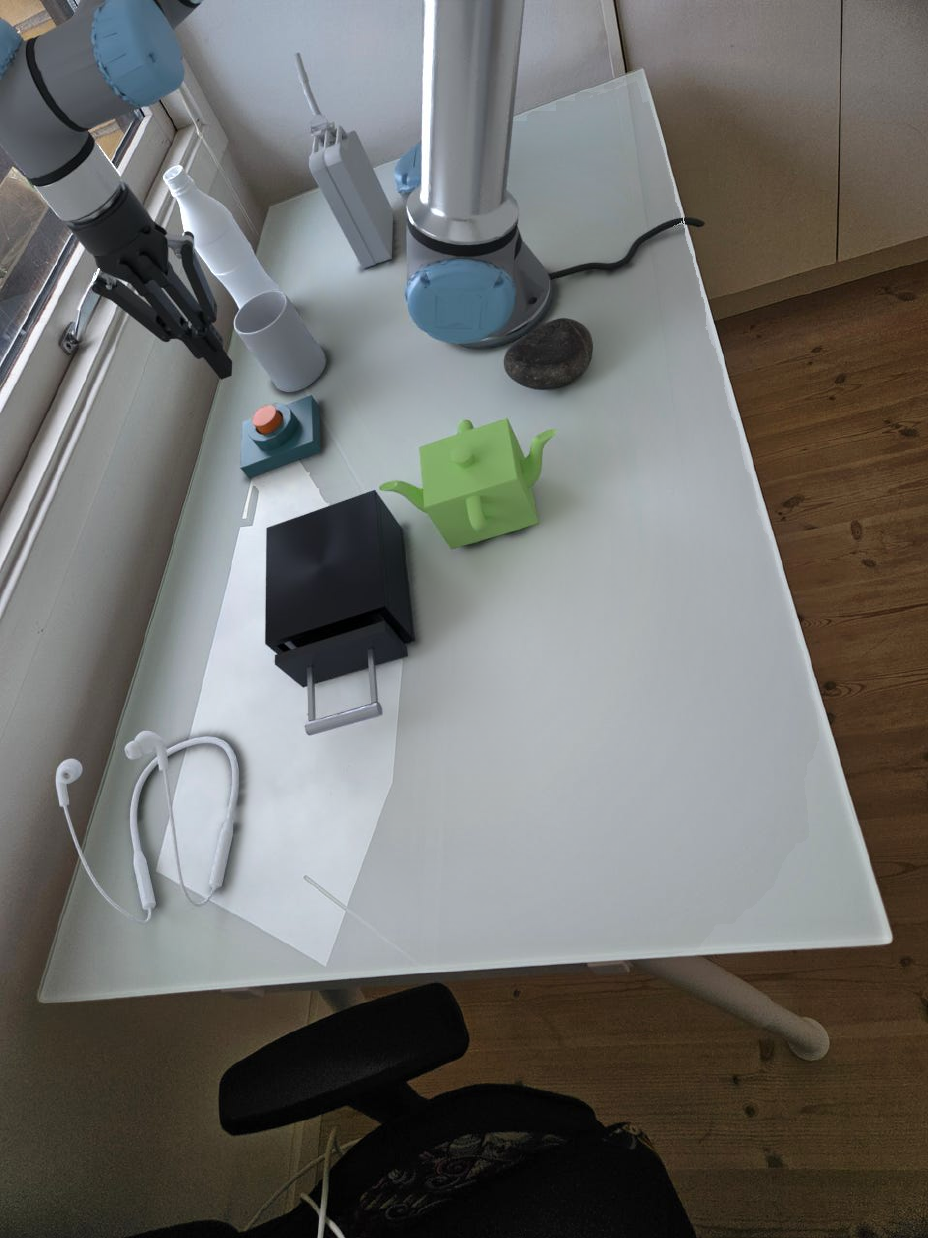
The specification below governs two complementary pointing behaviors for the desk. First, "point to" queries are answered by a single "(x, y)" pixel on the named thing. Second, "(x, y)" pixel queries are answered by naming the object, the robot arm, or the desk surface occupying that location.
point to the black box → (336, 571)
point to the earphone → (144, 746)
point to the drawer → (342, 664)
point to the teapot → (477, 482)
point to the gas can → (349, 184)
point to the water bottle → (219, 239)
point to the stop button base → (282, 438)
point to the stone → (550, 355)
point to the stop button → (267, 419)
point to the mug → (280, 341)
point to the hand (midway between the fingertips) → (226, 370)
